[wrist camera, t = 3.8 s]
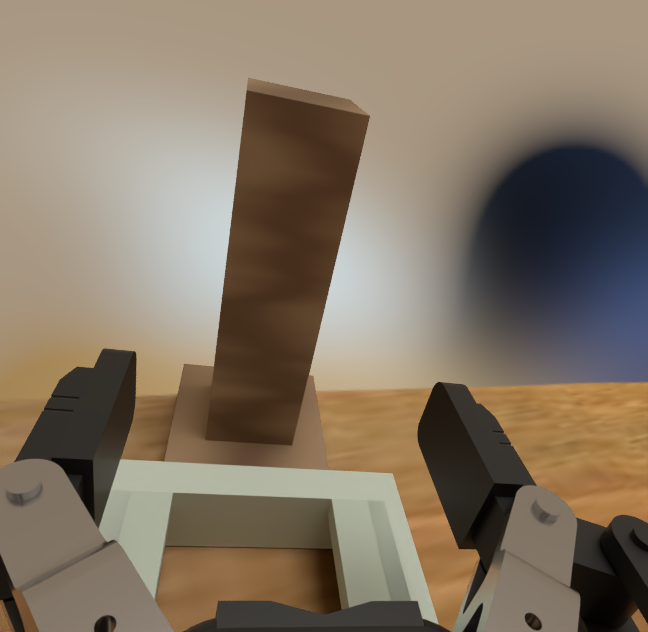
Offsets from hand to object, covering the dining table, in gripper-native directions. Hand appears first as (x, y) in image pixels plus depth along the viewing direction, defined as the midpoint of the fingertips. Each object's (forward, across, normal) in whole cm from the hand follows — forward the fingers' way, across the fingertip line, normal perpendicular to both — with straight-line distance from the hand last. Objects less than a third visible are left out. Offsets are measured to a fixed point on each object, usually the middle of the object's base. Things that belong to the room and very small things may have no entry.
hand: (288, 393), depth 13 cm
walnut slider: (+8, 0, +10) cm, 13 cm away
